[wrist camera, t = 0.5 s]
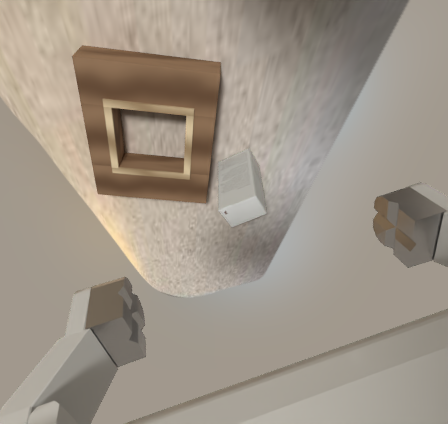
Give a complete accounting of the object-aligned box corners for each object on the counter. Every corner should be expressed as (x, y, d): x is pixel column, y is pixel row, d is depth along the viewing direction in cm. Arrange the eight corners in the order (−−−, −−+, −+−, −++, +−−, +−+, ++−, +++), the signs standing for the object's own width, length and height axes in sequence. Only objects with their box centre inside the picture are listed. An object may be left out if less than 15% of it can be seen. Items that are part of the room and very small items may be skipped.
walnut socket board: (82, 45, 43) (71, 57, 40) (220, 62, 44) (220, 74, 41) (104, 179, 58) (97, 195, 55) (206, 188, 59) (205, 204, 56)
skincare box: (229, 179, 58) (230, 228, 49) (217, 161, 55) (216, 210, 47) (260, 165, 56) (268, 214, 47) (250, 146, 54) (255, 194, 45)
